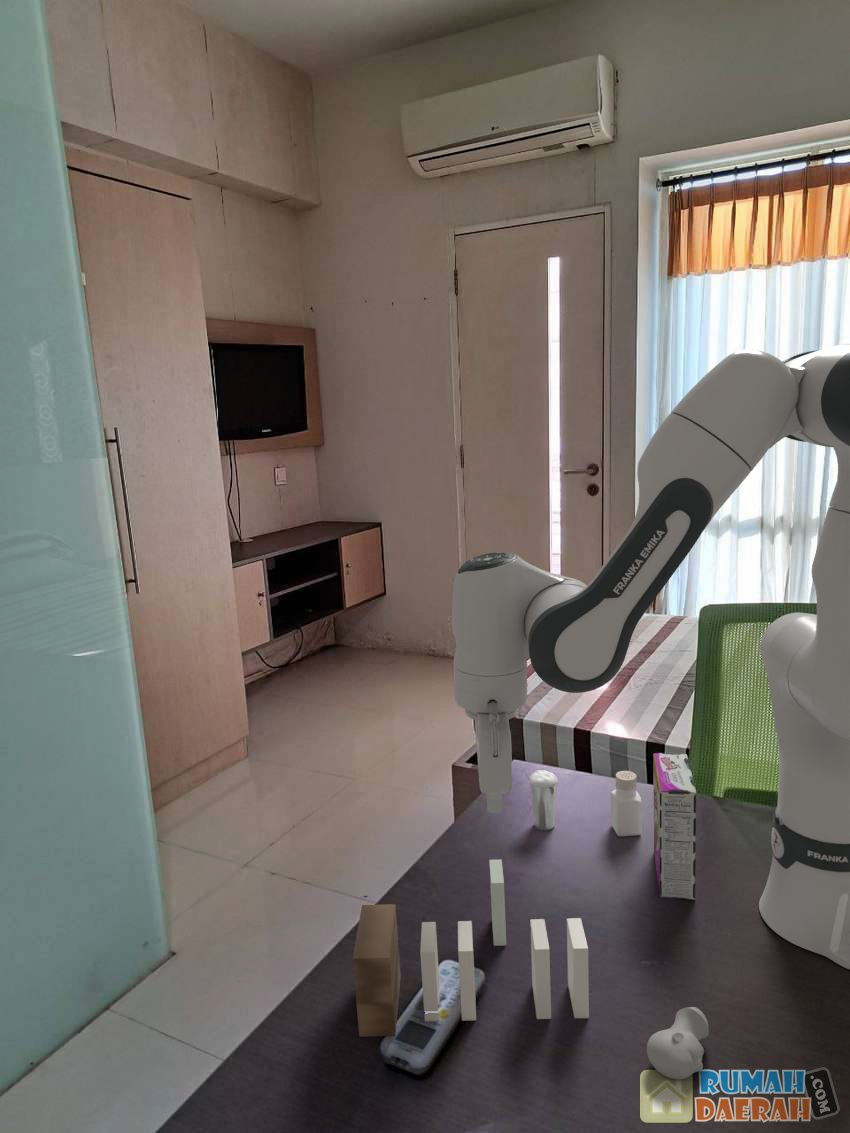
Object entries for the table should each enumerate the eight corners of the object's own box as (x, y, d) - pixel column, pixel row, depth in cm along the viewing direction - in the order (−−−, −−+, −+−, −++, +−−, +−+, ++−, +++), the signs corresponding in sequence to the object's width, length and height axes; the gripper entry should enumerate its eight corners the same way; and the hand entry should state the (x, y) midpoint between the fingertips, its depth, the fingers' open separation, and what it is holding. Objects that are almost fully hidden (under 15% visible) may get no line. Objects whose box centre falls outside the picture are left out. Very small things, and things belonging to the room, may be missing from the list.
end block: (400, 976, 95) (395, 904, 93) (395, 1035, 86) (389, 957, 84) (368, 977, 95) (362, 905, 93) (359, 1036, 86) (352, 958, 84)
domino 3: (503, 919, 104) (501, 859, 102) (506, 945, 99) (504, 882, 97) (491, 919, 104) (489, 859, 102) (493, 945, 99) (491, 883, 97)
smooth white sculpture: (675, 1103, 78) (634, 1060, 81) (719, 1056, 82) (679, 1017, 86) (687, 1077, 76) (645, 1034, 79) (731, 1031, 81) (689, 992, 84)
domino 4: (545, 985, 92) (544, 919, 90) (551, 1018, 87) (549, 949, 85) (532, 985, 92) (530, 919, 90) (536, 1019, 87) (534, 949, 85)
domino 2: (474, 987, 93) (471, 920, 91) (476, 1020, 88) (472, 951, 86) (461, 987, 93) (457, 921, 91) (461, 1020, 88) (458, 951, 86)
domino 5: (581, 984, 92) (580, 918, 90) (588, 1018, 87) (588, 948, 85) (568, 985, 92) (566, 918, 90) (574, 1018, 87) (573, 948, 85)
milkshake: (521, 822, 127) (519, 766, 125) (550, 815, 128) (549, 759, 126) (533, 836, 123) (531, 778, 121) (563, 829, 124) (562, 772, 122)
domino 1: (439, 987, 93) (435, 921, 91) (438, 1021, 88) (434, 951, 86) (426, 988, 93) (422, 922, 91) (424, 1021, 88) (420, 952, 86)
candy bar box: (651, 852, 117) (652, 751, 113) (686, 854, 116) (688, 752, 112) (657, 899, 106) (658, 789, 103) (696, 902, 105) (698, 791, 102)
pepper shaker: (609, 824, 125) (609, 770, 123) (634, 822, 125) (634, 768, 123) (617, 838, 121) (617, 782, 119) (642, 836, 121) (643, 780, 119)
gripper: (524, 721, 84) (525, 836, 87) (510, 657, 104) (512, 753, 107) (465, 722, 84) (469, 837, 87) (463, 659, 104) (466, 754, 107)
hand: (492, 790), depth 97 cm, fingers open, 8 cm apart
